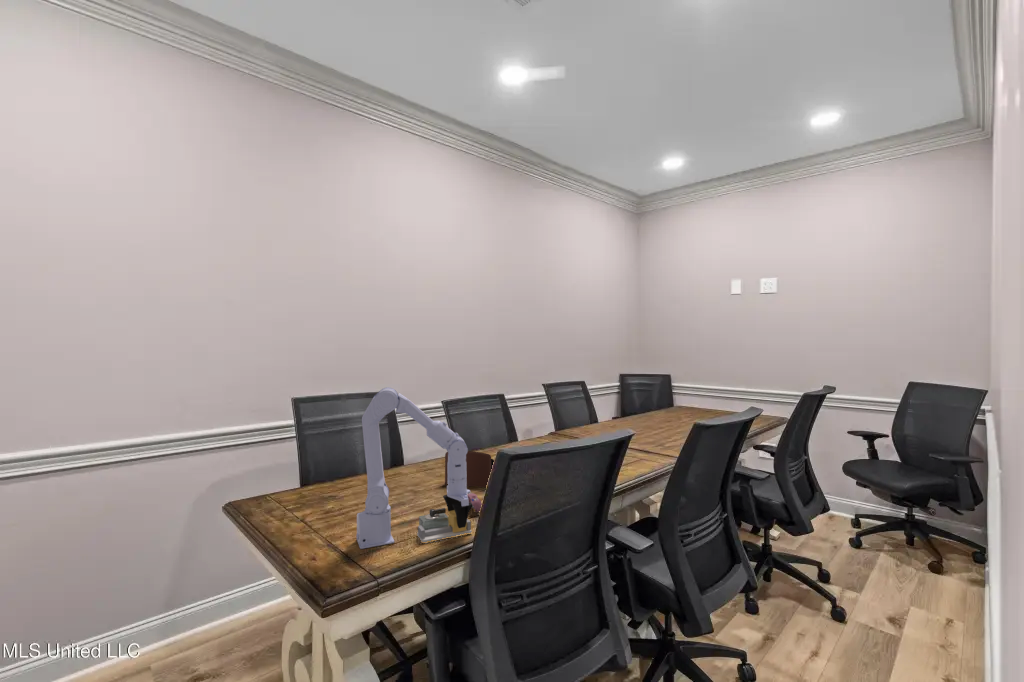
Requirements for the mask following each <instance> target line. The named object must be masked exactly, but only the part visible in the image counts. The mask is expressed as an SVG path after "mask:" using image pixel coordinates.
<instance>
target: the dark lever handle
mask: <svg viewBox="0 0 1024 682" xmlns="http://www.w3.org/2000/svg"><path fill="white" fill-rule="evenodd" d="M446 509H447V508H445V507H443V508H437V509H434V508H431V509H429V514H430V516H434V515H436V514H442V513H445V514H446V512H447V511H446Z"/></svg>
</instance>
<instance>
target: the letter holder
mask: <svg viewBox="0 0 1024 682" xmlns="http://www.w3.org/2000/svg"><path fill="white" fill-rule="evenodd" d="M444 456H445V457H444V485H447V484H448V474H447V463H448V451H445V455H444ZM494 461H495V460H494V459H493V458H492V455H491V454H489V453H485V452H481V451H474V450H468V452H467V454H466V471H467V487H471V486H478V487H477V488H482V487H485V489H487V488H486V485H487V482H488V478H489V475H490V472H491V469H492V465H493V462H494Z"/></svg>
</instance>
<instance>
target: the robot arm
mask: <svg viewBox="0 0 1024 682" xmlns="http://www.w3.org/2000/svg"><path fill="white" fill-rule="evenodd" d="M394 410H395V413H399V414H406V415H407V416H408V417H410V418H412V420H413V421H415V422H417V423H418V424H419V425H420V426H422V427H423V428H424V429H425V430H426V436H427V437H428V438H429V439H430V440H432V441H433V442H434V443H435V444H437V445H438V446H439V447H440V448H441V449H444V450H446V452H448V463H447V474H448V485H446V494H444V495H443V496H442V497H443V500H444V501H445V504H446V507H447V508H446V509H447V512H448V511H453V510H455V513H456V518H457V525H458V528H463V527H465V526H466V522H467V519H469V518H468V517H469V514H470V511H471V510H472V509H473V508H472V503H471V502H470V503H469V499H468V497H467V495H468V494H471V490H470V489H468V486H467V471H466V454H467V452H468V451H469V448H468V446H467V444H466V442H465V440H464V439H463V437H461V436H460V435H459V433H458V432H454V431H453V430H452V429H451V428H450V427H448V426H447V425H448V424H447V422H446V421H444V420H443V421H441V420H437V419H436V420H433V419H432V418H431V417H429V416H428V414H426V413H425V412H424V411H423V410H422V409H421V408H419V406H418V405H416V404H415V403H414V402H413V401H412V400H410V398H408V397H406V396H405V395H403V394H402V393H400V392H399V393H398V392H397V391H396V389H394V388H392V387H384V388H382V389H380V390H379V391H378V392H377V393H376V394H374V396H373V398H372V399H371V401H370V403H369V404H368V406H367V407H366V409H365V411H364V413H363V414H362V415H361V426H362V427H361V428H362V437H363V449H364V457H365V466H366V467H365V468H366V477H367V487H366V488H367V496H366V499H365V500H364V501H365V502H364V503H365V504H364V505H365V507H364V510H363V511H360V512H357V514H356V541H357V544H358V547H359V549H360V550H364V549H368V548H373V547H378V546H384V545H385V546H386V545H389V544H394V543H395V539H394V538H393V535H392V530H391V529H392V526H391V525H392V522H391V521H392V519H391V518H392V514H391V512H392V510H391V505H390V504H389V497H390V488H389V487H388V485H387V483H386V479H385V474H384V463H383V454H382V452H383V451H382V444H381V443H382V442H381V434H380V432H381V431H380V422H381V421H382V419H384V417H385V416H387V415H388V414H390V413H391V412H393V411H394Z"/></svg>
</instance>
